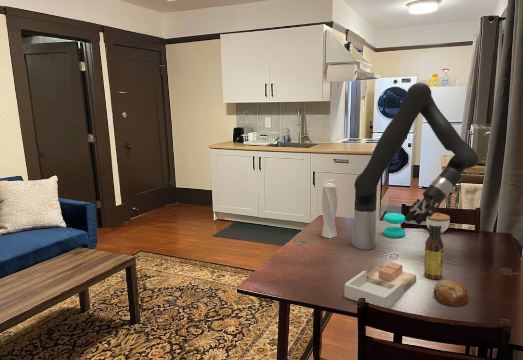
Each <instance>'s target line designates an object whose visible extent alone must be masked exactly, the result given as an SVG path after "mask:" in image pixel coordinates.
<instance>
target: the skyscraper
mask: <svg viewBox="0 0 523 360" xmlns="http://www.w3.org/2000/svg"><path fill="white" fill-rule="evenodd" d="M330 181H333V183H332V182H330ZM336 181H337V180H336V179H335V178H334V179H332V178H331V179H326V181H324V182H323V184H322V189H321V190H322V192H321V213H322V218H323V226H322V231H321V237H322V236H324V237H327V238H332V237H335V236H337V237H338V233H337V229H336V223H335V219H336V215H337V211H338V193H337V185H335V184H336ZM327 182H328V183H327ZM335 238H336V237H335Z"/></svg>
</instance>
